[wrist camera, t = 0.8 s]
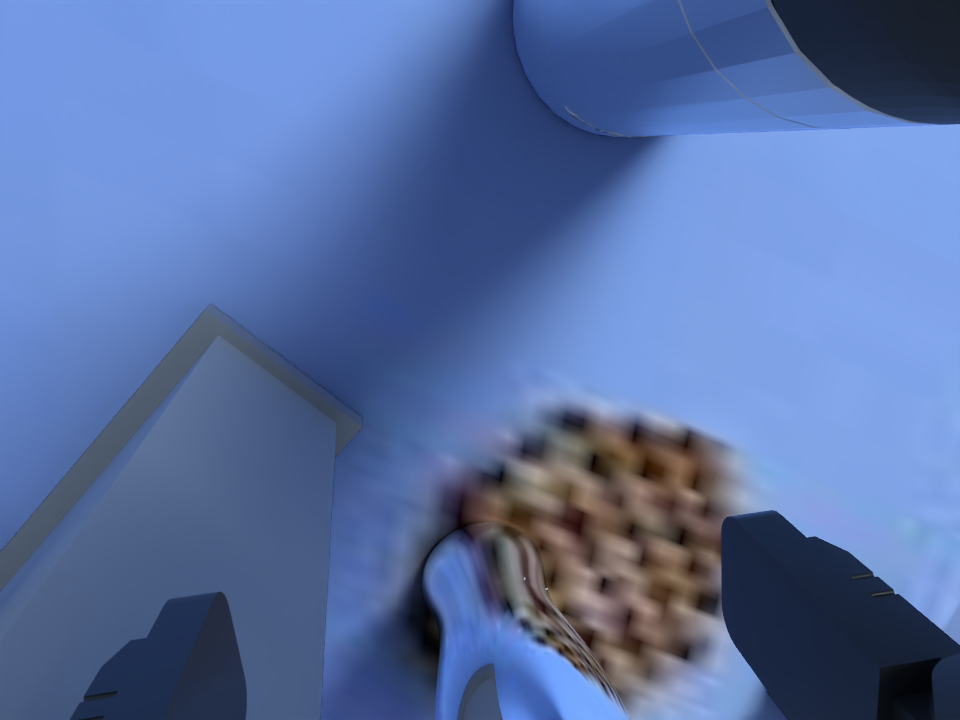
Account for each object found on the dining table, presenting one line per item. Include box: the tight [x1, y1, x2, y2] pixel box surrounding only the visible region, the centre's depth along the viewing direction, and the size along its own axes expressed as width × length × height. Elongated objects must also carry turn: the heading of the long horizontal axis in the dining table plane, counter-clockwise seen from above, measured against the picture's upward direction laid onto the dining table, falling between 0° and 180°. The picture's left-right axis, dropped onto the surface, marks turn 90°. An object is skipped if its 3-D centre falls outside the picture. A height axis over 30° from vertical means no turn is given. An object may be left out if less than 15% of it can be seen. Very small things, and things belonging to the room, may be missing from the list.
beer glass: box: [422, 522, 631, 720], centre depth 28 cm, size 7×7×15 cm
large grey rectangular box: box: [0, 304, 362, 720], centre depth 20 cm, size 8×17×24 cm, turn 137°
